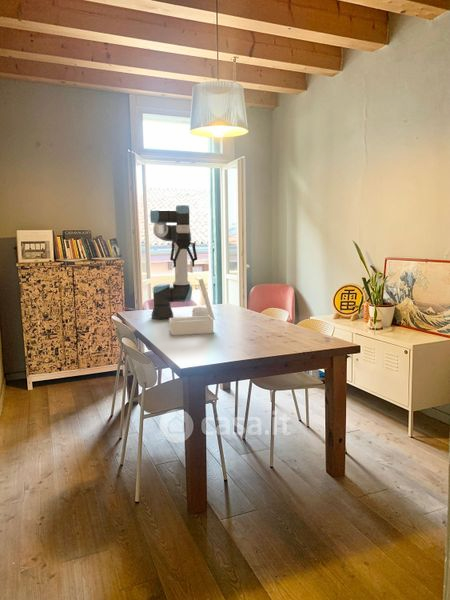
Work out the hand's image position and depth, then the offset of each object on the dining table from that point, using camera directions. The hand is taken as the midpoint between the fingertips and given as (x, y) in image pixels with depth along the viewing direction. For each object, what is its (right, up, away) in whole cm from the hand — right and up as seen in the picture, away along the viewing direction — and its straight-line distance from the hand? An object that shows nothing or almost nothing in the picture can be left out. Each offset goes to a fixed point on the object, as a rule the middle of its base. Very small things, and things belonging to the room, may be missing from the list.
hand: (184, 272), depth 255 cm
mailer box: (+4, -35, +6) cm, 35 cm away
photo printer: (+8, -32, +23) cm, 41 cm away
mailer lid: (+11, -15, +5) cm, 19 cm away
